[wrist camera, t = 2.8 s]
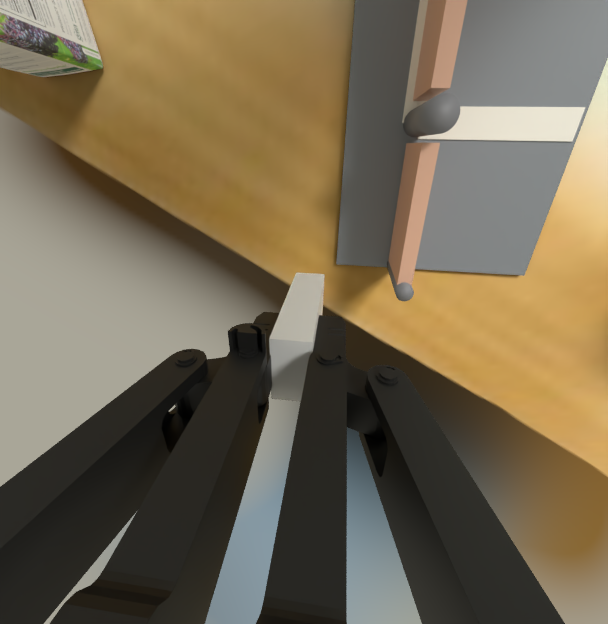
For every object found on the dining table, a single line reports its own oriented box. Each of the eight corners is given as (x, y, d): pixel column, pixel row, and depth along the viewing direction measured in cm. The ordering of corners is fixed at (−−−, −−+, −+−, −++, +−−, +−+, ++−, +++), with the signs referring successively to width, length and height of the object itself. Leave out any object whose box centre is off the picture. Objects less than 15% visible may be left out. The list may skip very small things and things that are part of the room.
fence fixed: (438, -119, 17) (489, -270, 11) (472, -121, 17) (544, -275, 11) (401, 137, 23) (420, 133, 17) (426, 137, 22) (455, 134, 16)
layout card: (362, -101, 18) (362, -107, 17) (670, -120, 16) (679, -128, 16) (336, 262, 28) (336, 264, 28) (521, 273, 27) (524, 275, 26)
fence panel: (404, 143, 23) (422, 142, 17) (421, 143, 23) (444, 142, 17) (385, 270, 27) (394, 300, 22) (399, 270, 27) (412, 301, 22)
